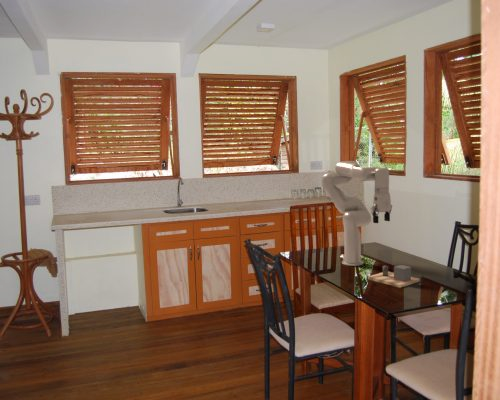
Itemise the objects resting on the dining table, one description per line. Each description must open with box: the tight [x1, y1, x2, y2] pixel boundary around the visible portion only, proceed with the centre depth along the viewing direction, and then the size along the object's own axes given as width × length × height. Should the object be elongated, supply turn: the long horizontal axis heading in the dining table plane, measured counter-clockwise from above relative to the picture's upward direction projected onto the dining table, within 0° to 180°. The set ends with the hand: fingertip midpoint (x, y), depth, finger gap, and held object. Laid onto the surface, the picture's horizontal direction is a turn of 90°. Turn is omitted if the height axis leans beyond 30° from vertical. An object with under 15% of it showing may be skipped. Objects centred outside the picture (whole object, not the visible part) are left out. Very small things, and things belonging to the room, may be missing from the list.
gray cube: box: [393, 264, 412, 282], centre depth 247 cm, size 6×6×6 cm
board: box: [367, 265, 420, 289], centre depth 252 cm, size 20×16×6 cm
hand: (381, 221), depth 264 cm, fingers open, 9 cm apart
